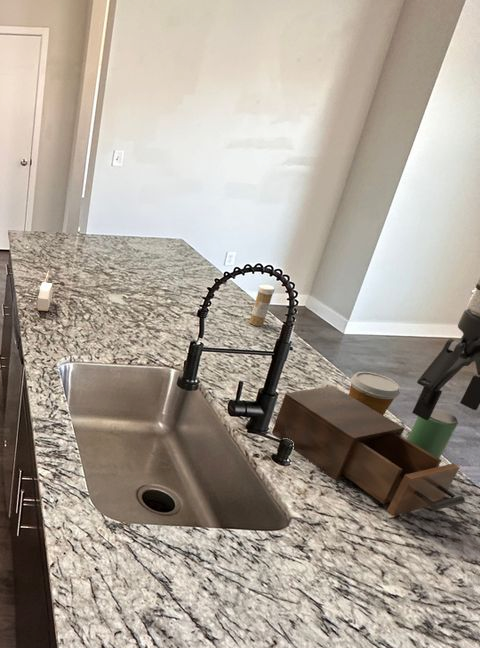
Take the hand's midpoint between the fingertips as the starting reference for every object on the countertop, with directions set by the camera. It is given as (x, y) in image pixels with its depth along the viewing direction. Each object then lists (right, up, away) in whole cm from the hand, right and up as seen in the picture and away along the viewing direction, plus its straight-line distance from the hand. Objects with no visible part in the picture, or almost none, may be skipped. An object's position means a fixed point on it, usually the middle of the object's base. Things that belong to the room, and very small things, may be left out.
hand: (444, 411), depth 108 cm
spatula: (-67, +31, +76) cm, 106 cm away
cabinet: (-16, -10, +12) cm, 22 cm away
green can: (-1, -13, +7) cm, 15 cm away
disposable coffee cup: (-2, -6, +22) cm, 23 cm away
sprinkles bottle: (+1, +18, +73) cm, 75 cm away
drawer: (-12, -15, -1) cm, 20 cm away
